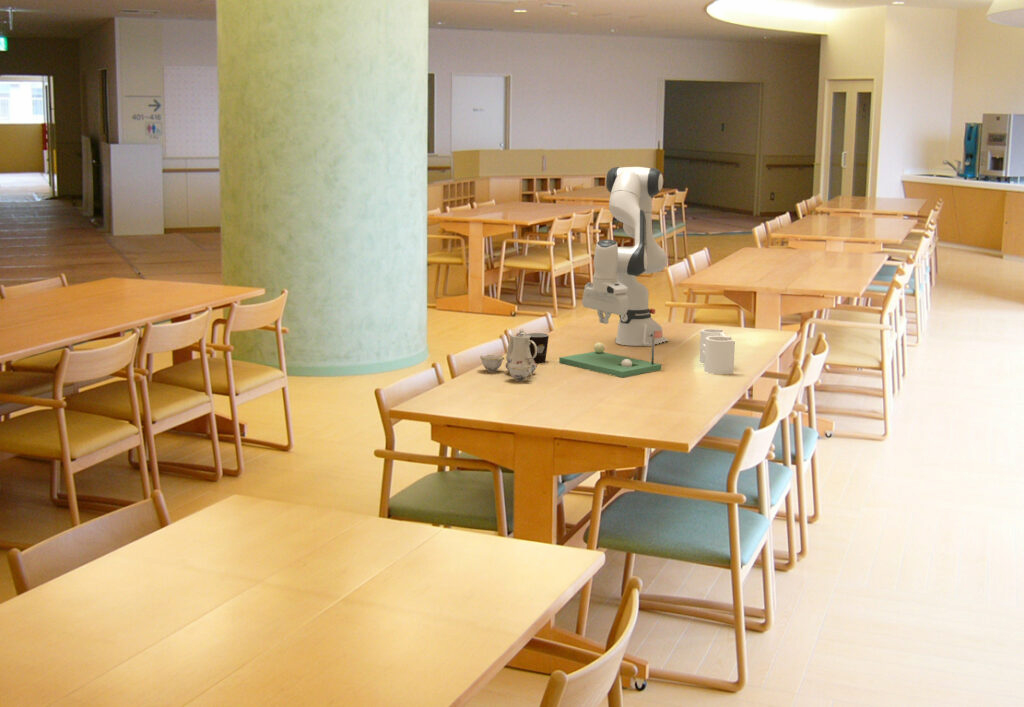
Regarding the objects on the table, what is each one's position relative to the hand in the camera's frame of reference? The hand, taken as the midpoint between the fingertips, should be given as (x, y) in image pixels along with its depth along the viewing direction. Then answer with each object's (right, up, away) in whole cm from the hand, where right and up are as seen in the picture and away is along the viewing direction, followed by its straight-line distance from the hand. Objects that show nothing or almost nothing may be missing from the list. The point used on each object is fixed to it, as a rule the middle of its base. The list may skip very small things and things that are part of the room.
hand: (603, 323), depth 402 cm
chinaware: (-33, -19, -15) cm, 40 cm away
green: (+2, -16, 0) cm, 16 cm away
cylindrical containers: (+40, -16, 0) cm, 43 cm away
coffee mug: (-26, -14, +8) cm, 30 cm away
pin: (+18, -15, -5) cm, 24 cm away
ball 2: (+8, -15, -6) cm, 18 cm away
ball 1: (-1, -9, +14) cm, 16 cm away
